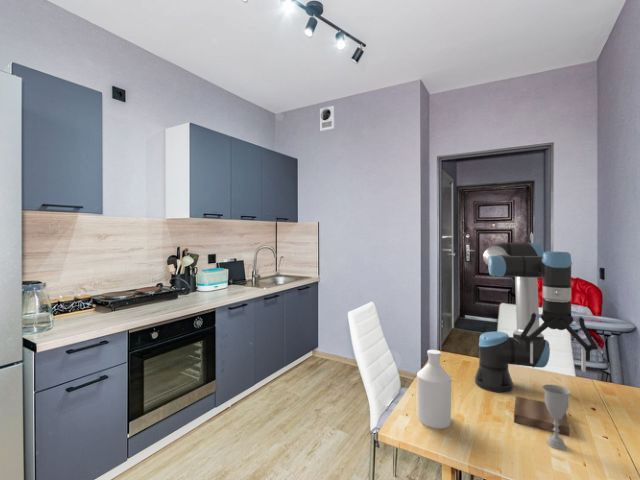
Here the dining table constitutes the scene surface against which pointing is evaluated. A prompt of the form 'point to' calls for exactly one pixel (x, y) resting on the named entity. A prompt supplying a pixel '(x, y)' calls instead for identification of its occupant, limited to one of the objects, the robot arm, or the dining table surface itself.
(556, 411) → the chalice
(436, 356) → the bottle
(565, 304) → the robot arm
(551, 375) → the dining table surface
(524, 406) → the plinth
